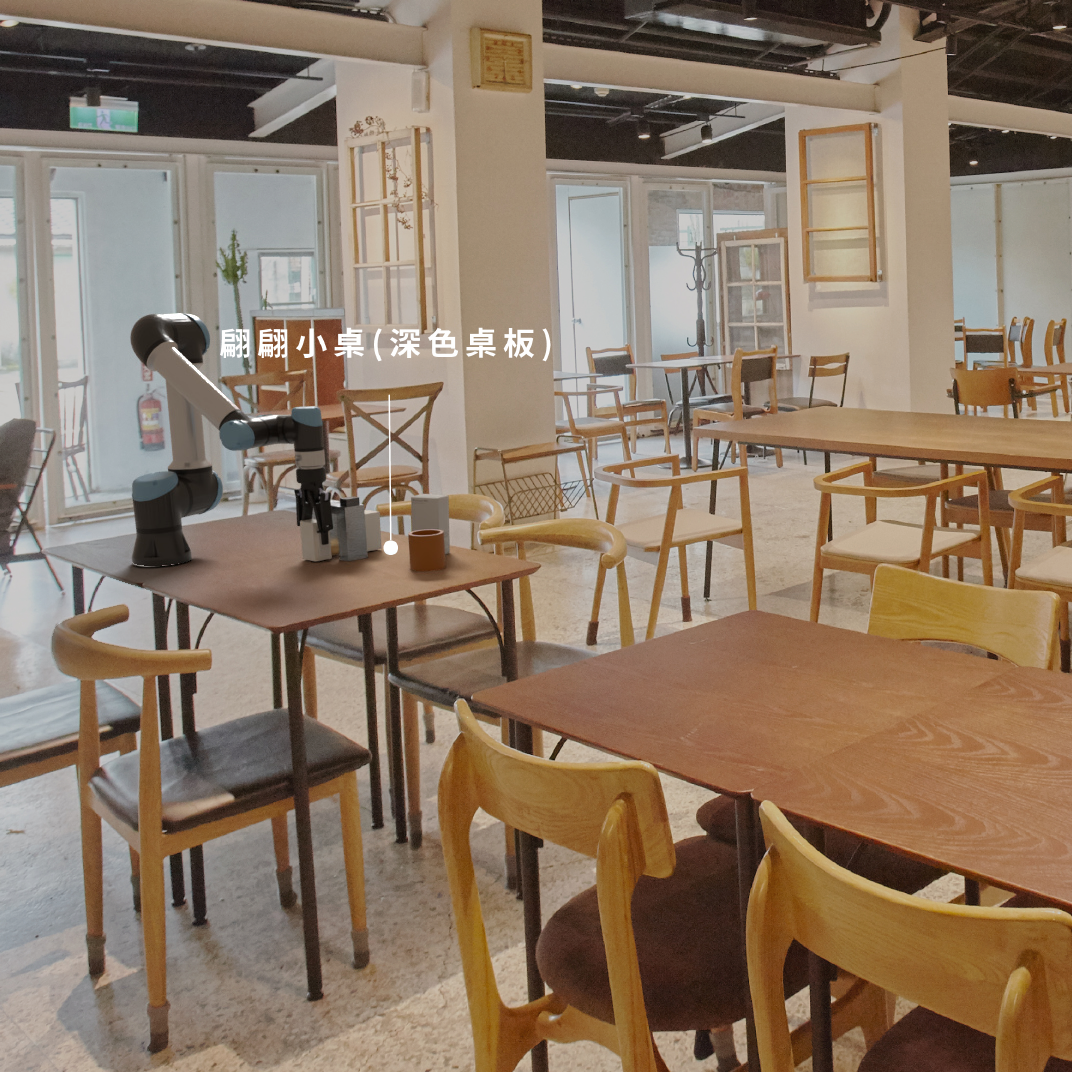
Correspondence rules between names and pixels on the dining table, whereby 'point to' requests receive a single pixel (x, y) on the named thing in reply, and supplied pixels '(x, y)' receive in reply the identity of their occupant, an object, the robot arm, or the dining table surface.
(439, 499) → the skincare box
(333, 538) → the gray notched block
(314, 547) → the white block dumbbell
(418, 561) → the mug
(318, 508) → the robot arm
